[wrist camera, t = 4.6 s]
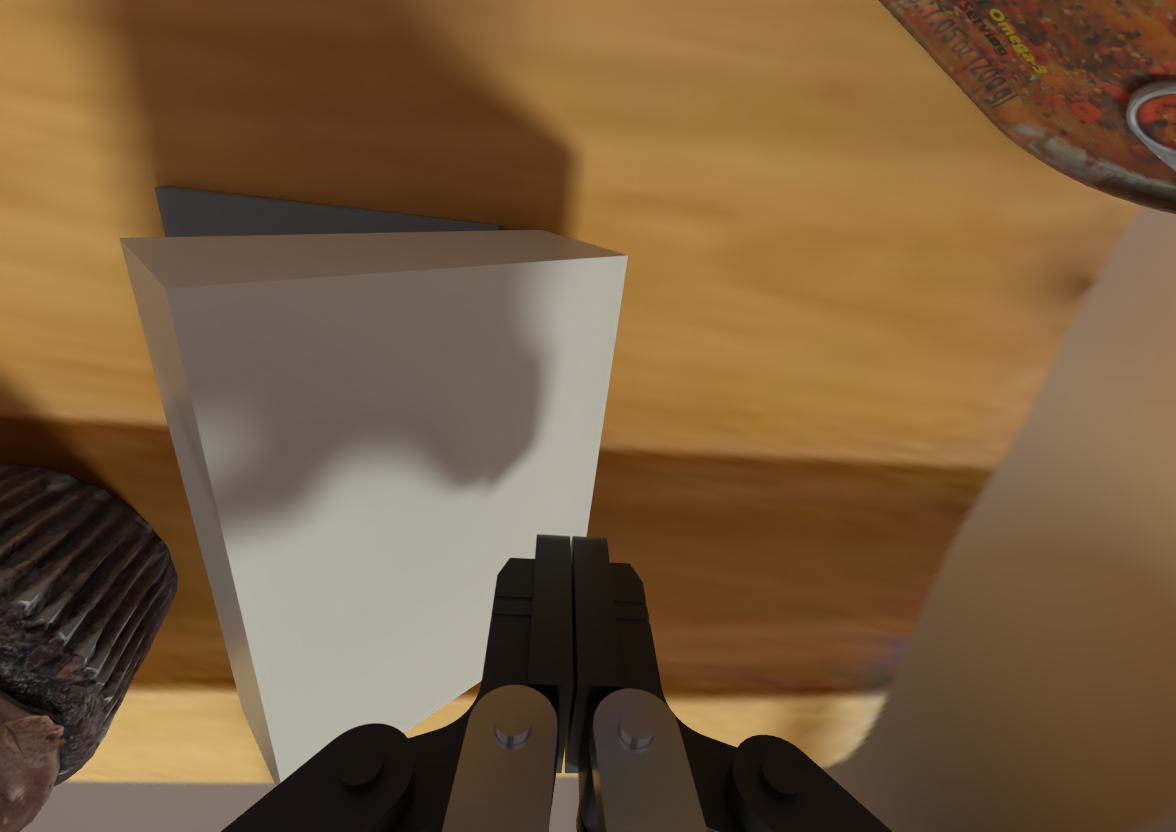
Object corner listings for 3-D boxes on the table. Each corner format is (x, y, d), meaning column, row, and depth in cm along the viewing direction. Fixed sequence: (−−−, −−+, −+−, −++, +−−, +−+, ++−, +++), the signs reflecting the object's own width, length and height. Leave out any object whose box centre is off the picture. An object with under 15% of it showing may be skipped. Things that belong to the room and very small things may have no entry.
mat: (165, 185, 14) (155, 187, 14) (500, 225, 15) (498, 227, 14) (243, 549, 19) (237, 557, 19) (485, 564, 20) (483, 572, 20)
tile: (534, 227, 15) (116, 233, 9) (627, 254, 13) (165, 287, 7) (510, 560, 20) (239, 702, 14) (574, 617, 18) (287, 811, 12)
